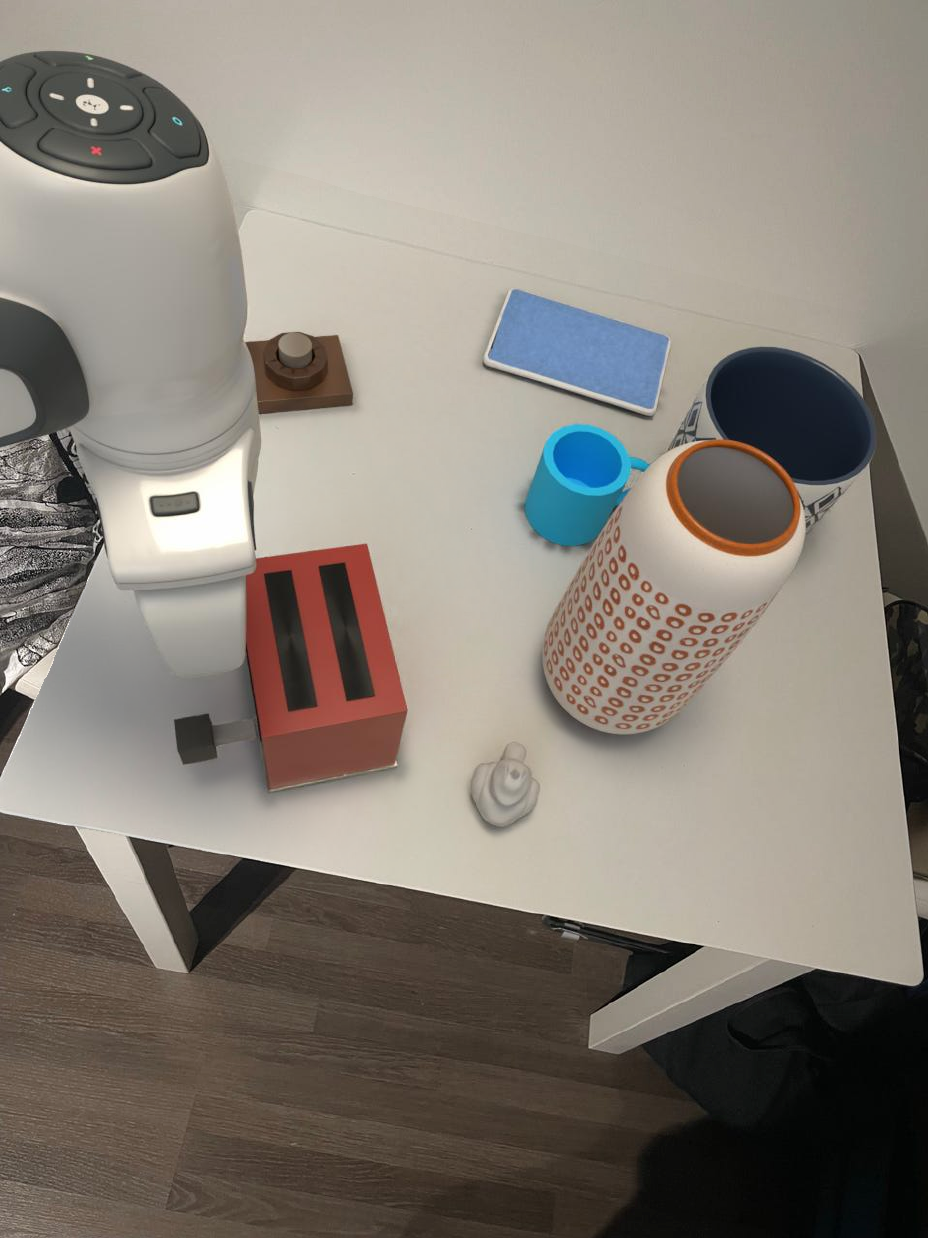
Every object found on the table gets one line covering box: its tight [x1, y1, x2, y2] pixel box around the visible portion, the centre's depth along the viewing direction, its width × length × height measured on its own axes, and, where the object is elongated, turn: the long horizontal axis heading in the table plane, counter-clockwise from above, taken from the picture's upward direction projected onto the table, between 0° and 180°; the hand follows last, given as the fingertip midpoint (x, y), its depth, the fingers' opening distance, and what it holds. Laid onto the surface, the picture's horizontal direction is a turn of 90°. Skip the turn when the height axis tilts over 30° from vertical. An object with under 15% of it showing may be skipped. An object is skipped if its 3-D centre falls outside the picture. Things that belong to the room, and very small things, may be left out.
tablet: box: [482, 287, 672, 417], centre depth 95 cm, size 19×13×1 cm, turn 74°
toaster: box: [245, 543, 408, 794], centre depth 67 cm, size 10×14×12 cm
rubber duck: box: [470, 741, 541, 827], centre depth 67 cm, size 5×7×8 cm
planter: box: [665, 346, 877, 537], centre depth 82 cm, size 16×16×14 cm
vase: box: [541, 440, 806, 735], centre depth 65 cm, size 13×13×28 cm
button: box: [278, 333, 312, 369], centre depth 85 cm, size 3×3×2 cm
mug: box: [524, 423, 651, 547], centre depth 82 cm, size 12×8×8 cm
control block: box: [245, 331, 354, 415], centre depth 87 cm, size 10×8×4 cm
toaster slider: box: [173, 713, 258, 766], centre depth 62 cm, size 5×2×3 cm, turn 105°
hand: (202, 567), depth 55 cm, fingers open, 8 cm apart
